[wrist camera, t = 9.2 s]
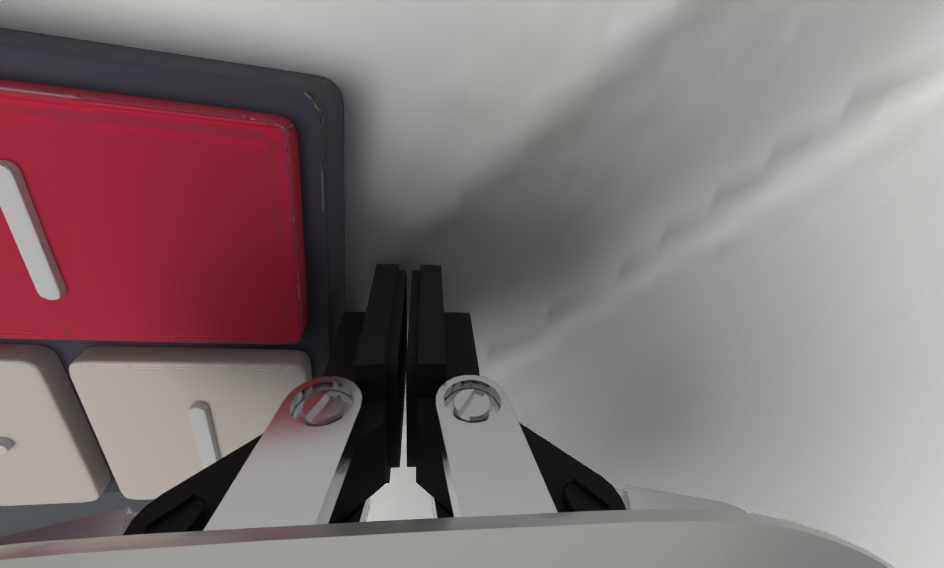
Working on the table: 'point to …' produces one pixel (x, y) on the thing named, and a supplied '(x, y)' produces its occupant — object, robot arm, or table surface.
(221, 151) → the dark long red-fronted box
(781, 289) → the table surface
